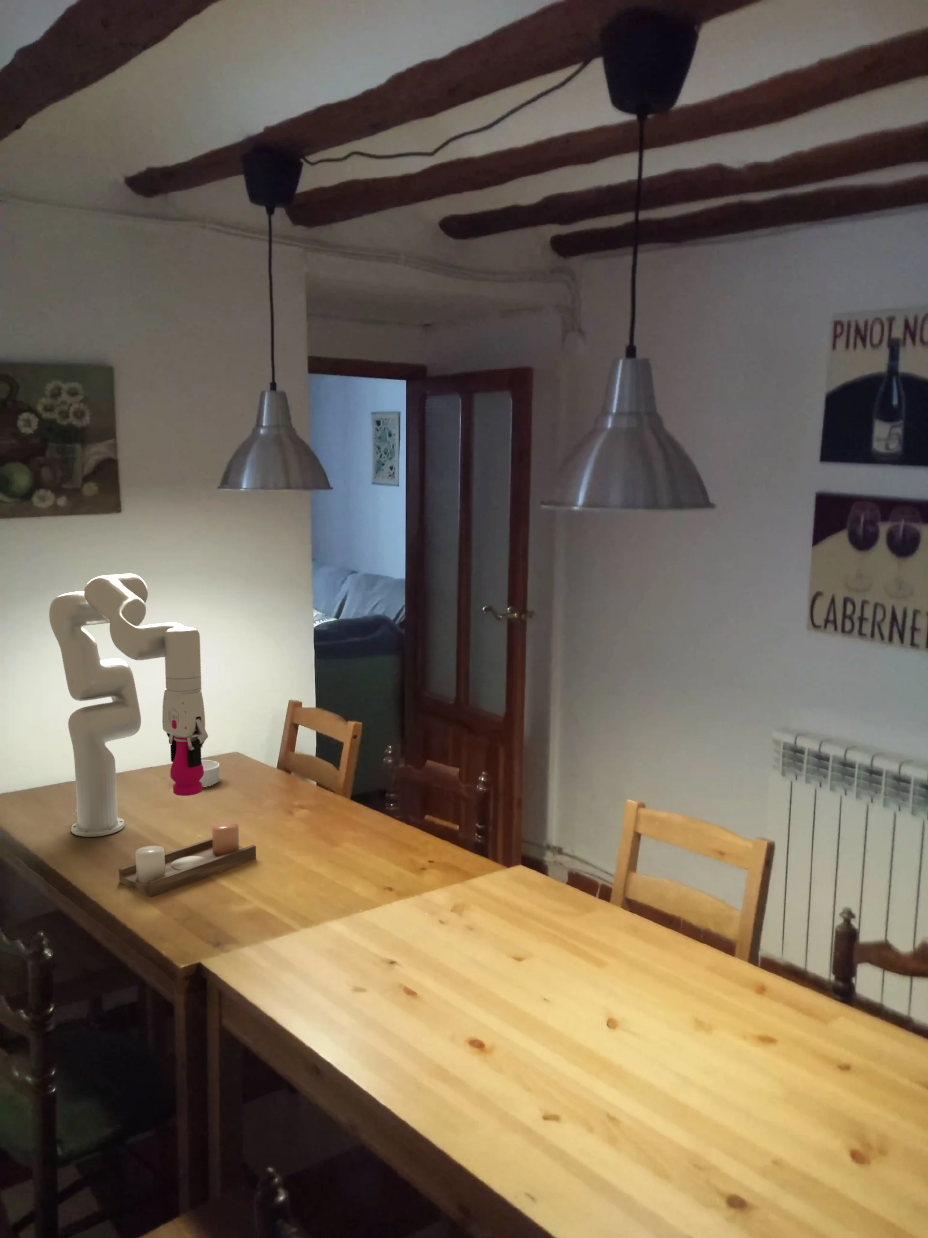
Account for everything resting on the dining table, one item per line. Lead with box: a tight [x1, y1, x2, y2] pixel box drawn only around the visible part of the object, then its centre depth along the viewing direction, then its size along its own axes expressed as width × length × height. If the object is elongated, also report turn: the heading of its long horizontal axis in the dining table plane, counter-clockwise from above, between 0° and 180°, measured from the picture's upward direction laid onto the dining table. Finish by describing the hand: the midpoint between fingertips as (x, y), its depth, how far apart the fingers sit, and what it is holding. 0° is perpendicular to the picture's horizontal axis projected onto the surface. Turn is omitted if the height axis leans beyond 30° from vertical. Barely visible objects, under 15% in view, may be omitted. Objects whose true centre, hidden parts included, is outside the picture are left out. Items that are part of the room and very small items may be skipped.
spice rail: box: [118, 837, 257, 898], centre depth 225 cm, size 12×28×3 cm, turn 141°
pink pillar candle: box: [211, 821, 240, 856], centre depth 233 cm, size 6×6×6 cm
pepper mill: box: [169, 720, 204, 797], centre depth 222 cm, size 7×7×20 cm
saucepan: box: [200, 759, 221, 787], centre depth 292 cm, size 12×20×6 cm, turn 34°
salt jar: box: [135, 845, 165, 883], centre depth 217 cm, size 6×6×6 cm
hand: (186, 762), depth 222 cm, fingers closed on pepper mill, 5 cm apart
